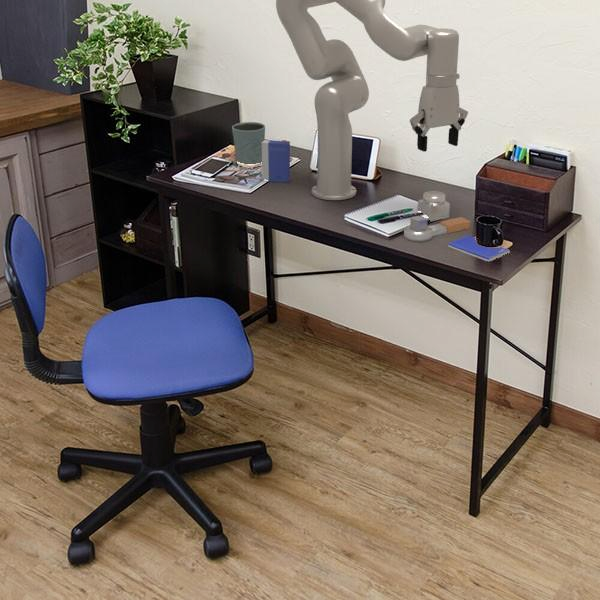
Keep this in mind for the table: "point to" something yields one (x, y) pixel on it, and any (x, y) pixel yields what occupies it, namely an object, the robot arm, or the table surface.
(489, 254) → the blue flat block
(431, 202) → the frosted rounded block
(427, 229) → the ratchet
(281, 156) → the walkman
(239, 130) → the green tapered cup
